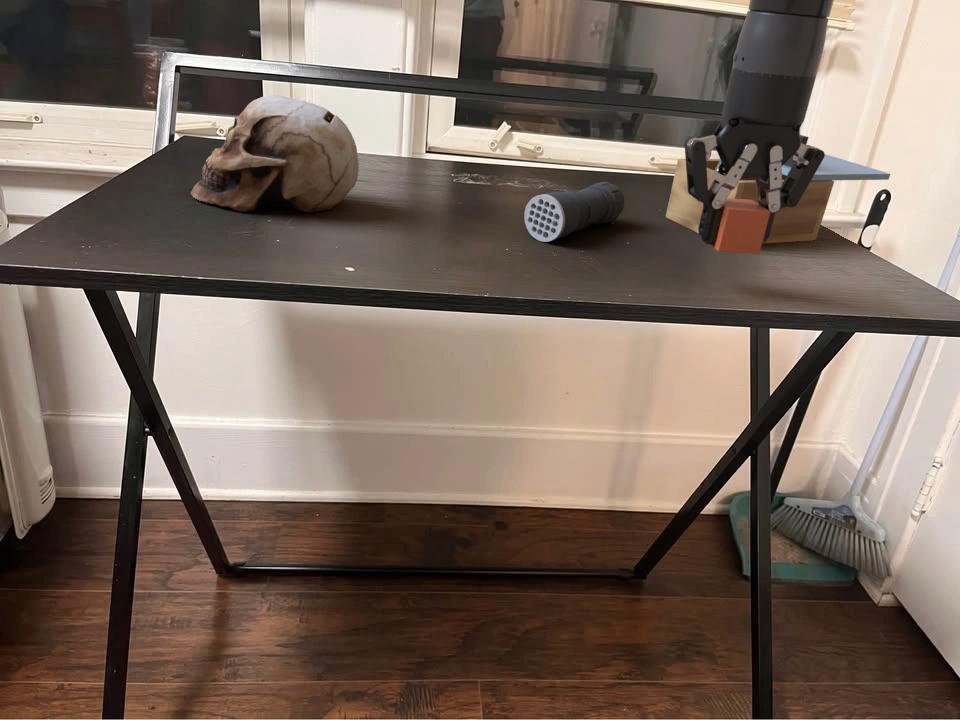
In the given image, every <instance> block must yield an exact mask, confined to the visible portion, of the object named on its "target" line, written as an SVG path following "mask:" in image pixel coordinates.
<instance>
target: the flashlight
mask: <svg viewBox="0 0 960 720" xmlns="http://www.w3.org/2000/svg"><path fill="white" fill-rule="evenodd" d="M624 207H625V196H624V193H623V191H622V190H621V189H620V187H619V186H617V185H616V184H614V183H611V182H610V181H609V182H608V181H601V182H596V183H593V184H591V185H589V186H587V187H586V188H583V189H581V190H578V191H573V190H565V191H551V192H547V193H542V194H538V195H535V196H533V197H532V198H530V200H529V201H528V202H527V204H526V206H525V209H524V218H523V219H524V223H525V227H526V229H527V231H528V233H529V234H530V236H531V237H532V238H533V239H535V240H537V241H539V242H543V243H548V242H551V241H555V240H559V239H563V238H564V237H567V236H568V235H569V234H571V233H575V232H578V231H579V230H581V229H582V228H583V227H584V226H593V225H605V224H608V223H610V222H614V221H615V220H617V219H618V218H619V217H620V215H621V214H622V212H623V211H624Z"/></svg>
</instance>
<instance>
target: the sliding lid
mask: <svg viewBox="0 0 960 720" xmlns="http://www.w3.org/2000/svg"><path fill="white" fill-rule="evenodd" d="M800 137H801V143H803V144H805V145H808V141H809V136H805V135H802V134H800ZM793 156H794V155H793ZM793 156H792V157H791V158H790V159H789V160H788V161H787V162H786V163H785V164H784V165H783V166H782V174H783V175H786V176H787V175H788V173H789V171H790V169H791V167H792V166H793V164H794V163H793ZM890 176H891V173H889V172H885V171H882V170H879V169H876V168H873V167H869V166H866V165H862V164H859V163H856V162H853V161H849V160H846V159H843V158H840V157H836V156H833V155H830V154H827V153H825V156H824V159H823V161H822V162H821V164H820V166H819V168H818V169H817V171H816V173H815V174H814V176H813V178H812V180H811V181H822V180H832V181H887V180H889V179H890Z"/></svg>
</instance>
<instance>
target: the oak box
mask: <svg viewBox="0 0 960 720" xmlns="http://www.w3.org/2000/svg"><path fill="white" fill-rule="evenodd" d="M719 161H720V158H709V159H708V160H706V164H707V181H708V187H709V185H710V183H711V181H712V175H713V172H714V171H715V169H716V167H717V165H718V163H719ZM785 178H786V175H783V174H782V184H783V182H784V180H785ZM834 184H835V180H822V181H810V183H809V185H808V187H807V188H806V190H805V192H804V194H803V195H802V197H801V199H800V201H799V202H798V204H797V205H796V206H795V207H789V206H788V207H784V208H781V209H779V210H778V211H777V212H776V213H775V216H774V220H773V224H772V227H771V231H770V235H769V238H768V239H767V241H766V242H763V244H775V243H776V244H777V243H794V242H797V241H798V242H814V241H813V240H815V241H817V238H818V234H819V231H820V228H821V225H822V222H823V219H824V216H825V212H826V210H827V206H828V204H829V199H830V197H831V194H832V190H833V187H834ZM727 198H730V199H747V200H753V201H754V202H756V203H758V186H757V184H756V180H755V177H753V176H752V177H747V178H741V179H740V181H739V182H738V184H737V186H736V187H735V188H734V189H733V190H731V192H730V194H729V196H728V197H727ZM758 204H759V203H758ZM702 210H703V202H700V201H698V200H697V199H695V198H694V197H693V196H691V195H690V194H689V193H688V185H687V172H686V158H678V159H677V162H676V167H675V172H674V175H673V180H672V185H671V190H670V194H669V200H668V204H667V208H666V212H665V213H666V214H665V218H667V219H668V220H671V221H673V222H674V223H676V224H679V225H681V226H682V227H684V228H687V229H688V230H690V231H692V232H695V233H697V234H698V235H699V231H698V228H699V224H700V219H701V215H702Z"/></svg>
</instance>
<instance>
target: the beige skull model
mask: <svg viewBox="0 0 960 720" xmlns="http://www.w3.org/2000/svg"><path fill="white" fill-rule="evenodd" d="M359 165H360V164H359V155H358V147H357V144H356V141H355V138H354V136H353V135H352V133H351V131H350V129H349V128H348V126H347V125H346V124H345V122H344V121H343V120H342V119H341V118H340V117H339V116H338V115H335V114H333V113H332V112H331V111H330V110H328V109H327V108H325V107H323V106H321V105H318V104H315V103H312V102H309V101H306V100H300V99H297V98H293V97H287V96H284V95H277V94H270V95H269V94H268V95H264V96H261V97H259V98H255V99H254V100H252V101H251V102H249V103H248V104H247V105H246V107H245V108H244V109H243V110H242V112H240V114H239V115H238V116H235V117H234V122H233V125H232V126H229V127H228V129H227V133H226V137H225V139H224V143H223V144H222V146H221V147H219V148H217V147H216V148H214V150H213V151H211V154H210V155H209V156H208V157H207V158H206V160H205V163H204V165H203V166H202V170H201V175H202V177H201V179H200V180H199V181H198V182H197V183H195V185H194V186H193V188H192V190H191V191H190V195H191V196H192V198H193V199H194V198H195V199H194V200H196V199H197V200H196V201H198V200H199V202H201V201H202V202H201V203H204V202H205V204H208V203H209V205H217V206H219V207H221V208H229V209H233V210H234V211H237V212H241V213H243V212H251V211H254V210H256V209H257V208H258V207H262V206H264V205H267V206H270V207H274V208H291V209H293V210H299V211H301V212H305V213H315V212H320V211H326V210H332V209H333V207H335V206H336V205H338V204H339V203H341V202H342V201H343V200H344V199H345V198H346V197H347V195H348V194H349V193H350V192H351V190H352V189H353V188H354V187H355V186H356V183H357V181H358V177H359V169H360V167H359Z"/></svg>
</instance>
